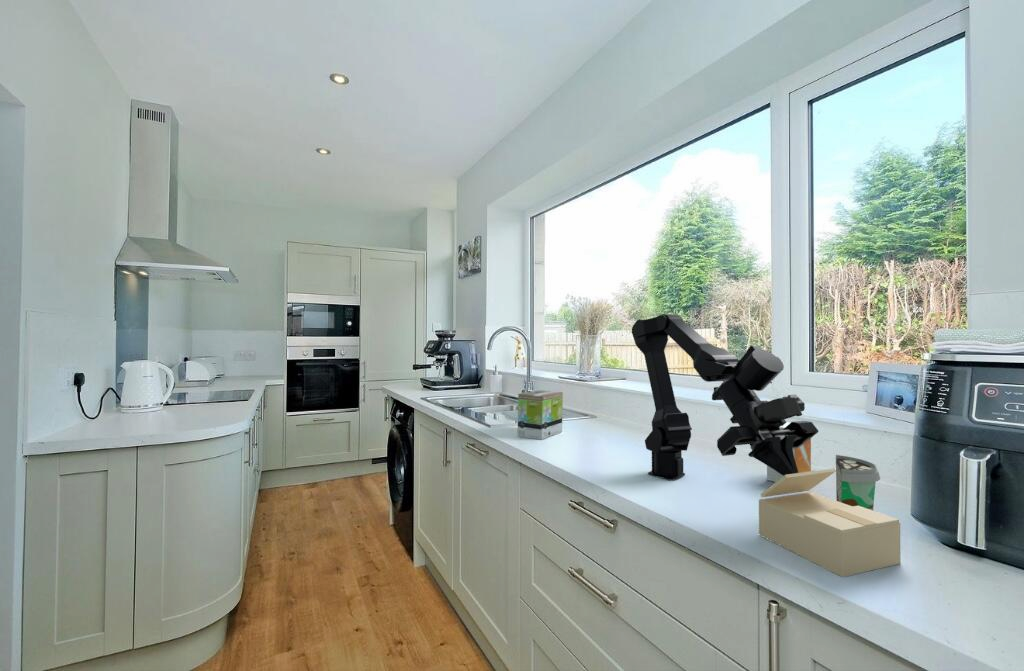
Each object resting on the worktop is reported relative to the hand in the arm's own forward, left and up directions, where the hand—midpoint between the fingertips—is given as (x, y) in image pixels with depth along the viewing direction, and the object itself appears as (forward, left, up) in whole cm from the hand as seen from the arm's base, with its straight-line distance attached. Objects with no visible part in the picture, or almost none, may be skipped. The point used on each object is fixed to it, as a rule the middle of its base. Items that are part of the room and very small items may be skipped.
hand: (796, 481), depth 76 cm
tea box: (-85, +22, -10) cm, 88 cm away
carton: (+4, -2, -9) cm, 10 cm away
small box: (-11, +31, -9) cm, 35 cm away
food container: (+5, +17, -9) cm, 20 cm away
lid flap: (0, 0, 0) cm, 1 cm away
